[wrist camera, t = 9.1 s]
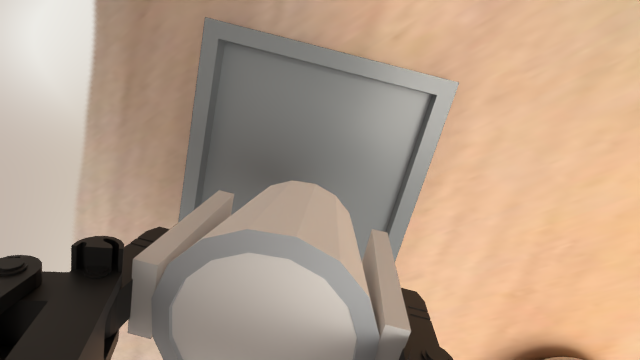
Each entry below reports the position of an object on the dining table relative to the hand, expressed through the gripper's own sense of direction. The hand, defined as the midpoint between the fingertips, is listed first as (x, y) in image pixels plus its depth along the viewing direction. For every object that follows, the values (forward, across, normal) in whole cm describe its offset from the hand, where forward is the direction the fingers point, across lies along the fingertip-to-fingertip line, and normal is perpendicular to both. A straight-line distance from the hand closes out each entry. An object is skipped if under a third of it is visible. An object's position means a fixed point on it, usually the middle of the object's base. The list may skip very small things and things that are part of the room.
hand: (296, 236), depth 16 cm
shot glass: (0, 0, 0) cm, 0 cm away
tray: (+13, -1, 0) cm, 13 cm away
